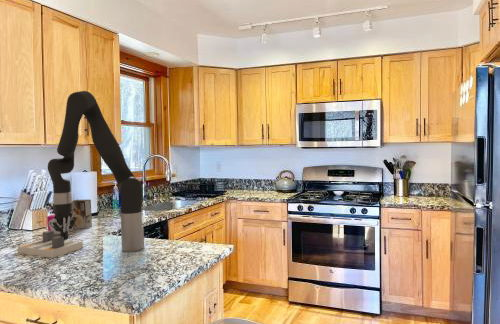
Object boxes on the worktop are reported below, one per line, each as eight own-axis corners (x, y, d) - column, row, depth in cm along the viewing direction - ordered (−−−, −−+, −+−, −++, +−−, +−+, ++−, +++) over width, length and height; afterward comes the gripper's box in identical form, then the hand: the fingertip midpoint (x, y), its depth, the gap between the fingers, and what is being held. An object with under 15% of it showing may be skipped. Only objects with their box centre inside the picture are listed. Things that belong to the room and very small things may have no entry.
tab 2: (60, 242, 173) (59, 231, 173) (64, 243, 172) (64, 232, 172) (53, 244, 170) (53, 233, 170) (58, 245, 169) (57, 234, 169)
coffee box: (92, 226, 216) (91, 199, 215) (86, 228, 210) (85, 201, 209) (78, 226, 217) (77, 199, 216) (71, 228, 211) (70, 201, 210)
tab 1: (49, 241, 176) (49, 230, 176) (54, 241, 175) (53, 231, 175) (43, 243, 173) (42, 232, 173) (47, 243, 172) (47, 232, 171)
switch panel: (49, 243, 179) (49, 237, 179) (82, 247, 170) (82, 241, 170) (17, 252, 164) (17, 245, 164) (52, 257, 156) (52, 250, 155)
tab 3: (59, 247, 165) (58, 236, 165) (64, 248, 164) (63, 236, 164) (52, 249, 162) (51, 238, 162) (57, 250, 161) (57, 238, 160)
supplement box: (63, 234, 196) (62, 213, 195) (60, 237, 190) (59, 215, 190) (51, 235, 195) (50, 214, 194) (48, 238, 189) (47, 216, 188)
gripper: (69, 199, 172) (70, 235, 173) (43, 204, 160) (45, 242, 161) (80, 200, 169) (82, 236, 171) (55, 205, 157) (58, 244, 158)
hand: (64, 239), depth 166 cm, fingers closed
